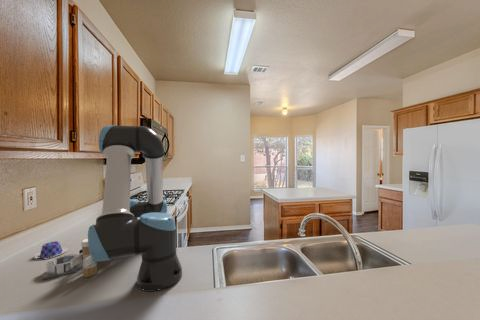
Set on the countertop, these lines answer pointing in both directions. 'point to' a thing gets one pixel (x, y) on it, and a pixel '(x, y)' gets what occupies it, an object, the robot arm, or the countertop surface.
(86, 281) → the countertop surface
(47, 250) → the checkered hat
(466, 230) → the countertop surface
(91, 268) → the sprinkles bottle
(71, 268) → the collar
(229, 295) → the countertop surface
